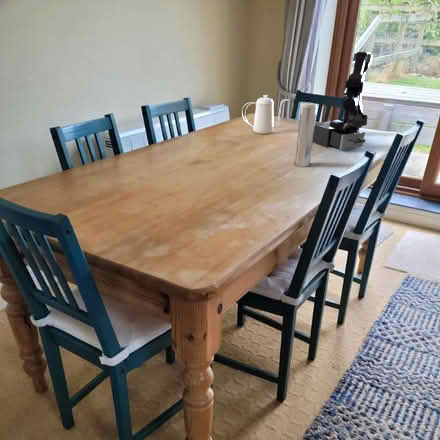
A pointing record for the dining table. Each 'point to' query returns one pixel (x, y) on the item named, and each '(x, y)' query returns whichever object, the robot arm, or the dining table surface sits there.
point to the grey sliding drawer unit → (323, 133)
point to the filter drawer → (346, 139)
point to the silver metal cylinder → (305, 134)
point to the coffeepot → (264, 115)
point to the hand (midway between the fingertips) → (345, 141)
